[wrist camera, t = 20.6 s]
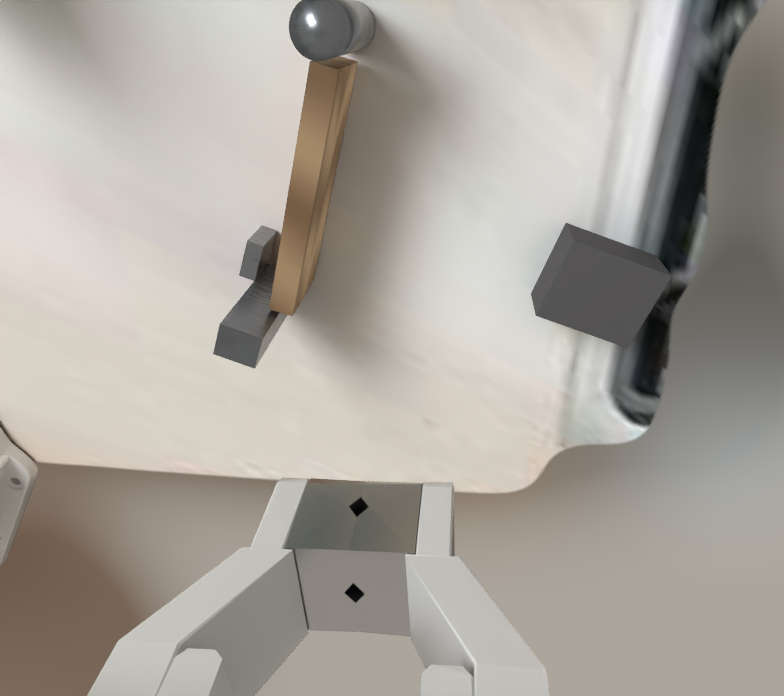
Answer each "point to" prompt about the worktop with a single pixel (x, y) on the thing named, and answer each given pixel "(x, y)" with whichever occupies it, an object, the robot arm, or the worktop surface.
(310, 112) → the gate
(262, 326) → the post
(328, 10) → the hinge post
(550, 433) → the worktop surface
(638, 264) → the block
